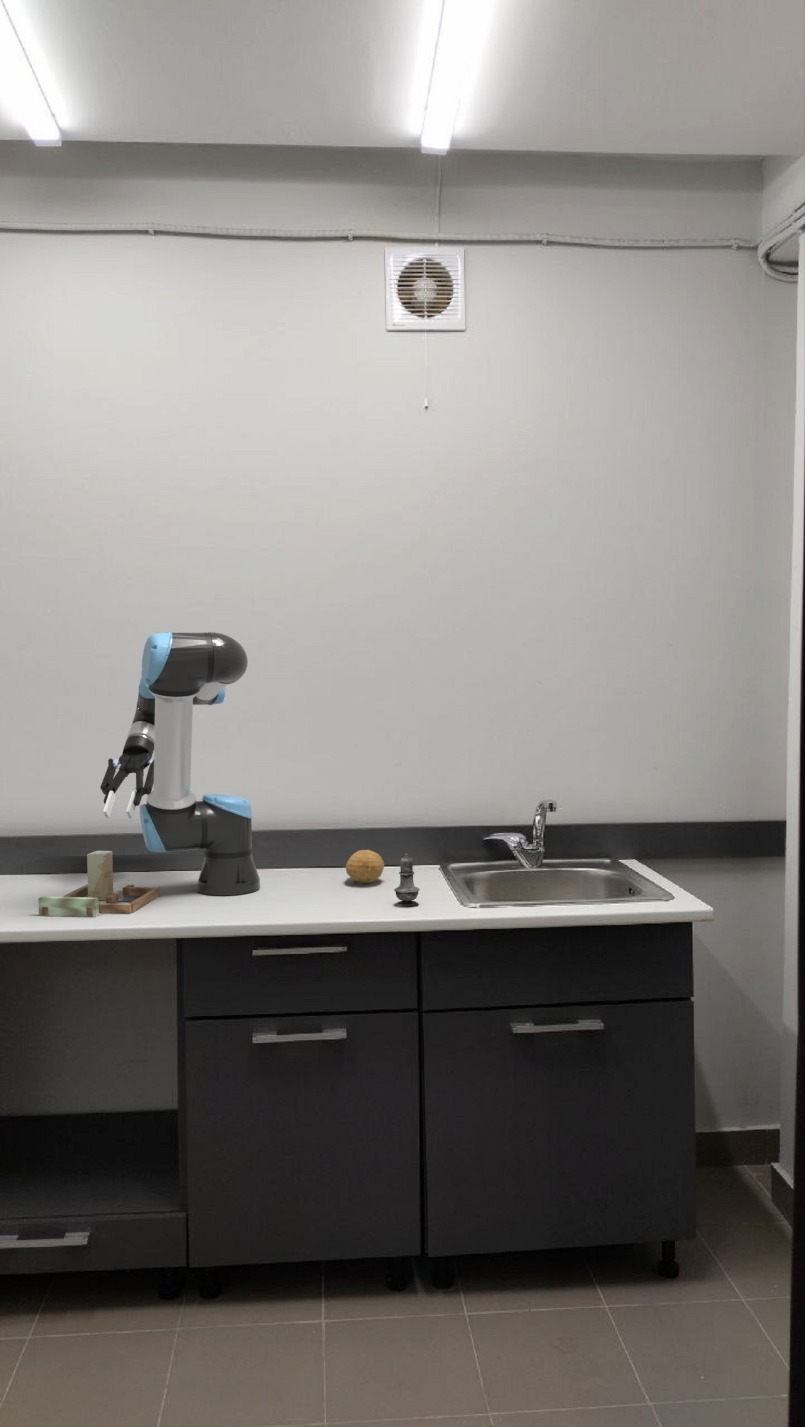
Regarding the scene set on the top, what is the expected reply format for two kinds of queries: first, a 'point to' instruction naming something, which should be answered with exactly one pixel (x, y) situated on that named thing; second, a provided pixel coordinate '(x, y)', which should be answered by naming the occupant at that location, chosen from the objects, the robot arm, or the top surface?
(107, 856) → the box
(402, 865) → the salt shaker
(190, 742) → the robot arm
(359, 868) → the potato
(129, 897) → the brown green flat frame
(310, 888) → the top surface
